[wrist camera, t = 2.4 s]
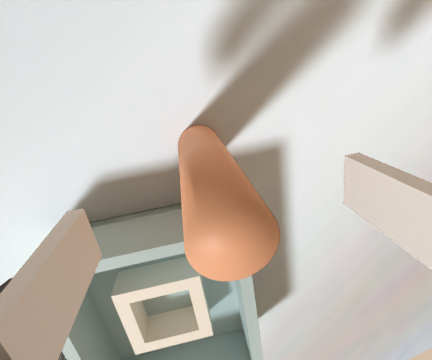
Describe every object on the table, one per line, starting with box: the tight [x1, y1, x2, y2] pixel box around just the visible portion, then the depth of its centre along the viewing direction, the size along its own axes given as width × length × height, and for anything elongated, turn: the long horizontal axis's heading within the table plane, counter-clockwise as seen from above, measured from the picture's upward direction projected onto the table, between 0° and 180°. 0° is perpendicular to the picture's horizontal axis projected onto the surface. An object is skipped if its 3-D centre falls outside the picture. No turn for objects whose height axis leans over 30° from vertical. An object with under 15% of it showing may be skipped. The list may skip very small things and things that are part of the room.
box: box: [62, 203, 263, 360], centre depth 25 cm, size 18×16×6 cm
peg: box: [178, 125, 280, 281], centre depth 16 cm, size 4×4×14 cm
